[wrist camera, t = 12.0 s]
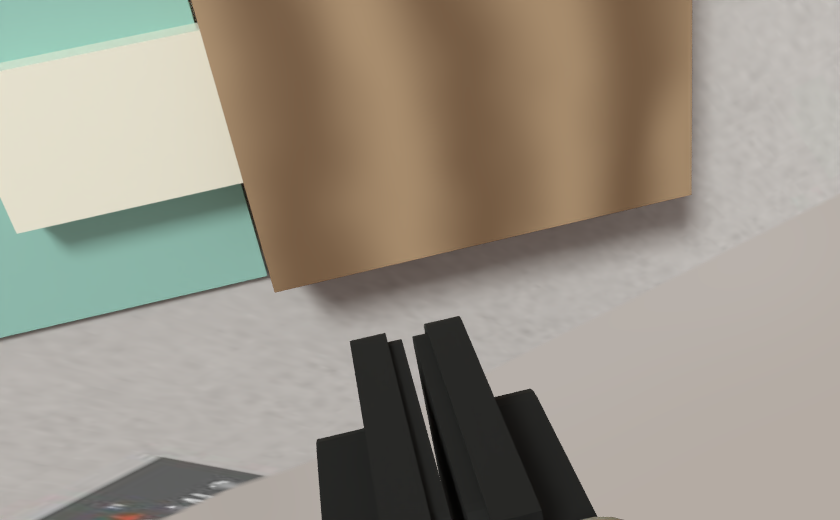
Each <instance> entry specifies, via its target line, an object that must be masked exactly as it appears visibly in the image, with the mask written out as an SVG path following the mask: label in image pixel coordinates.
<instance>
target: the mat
mask: <svg viewBox="0 0 840 520" xmlns="http://www.w3.org/2000/svg"><path fill="white" fill-rule="evenodd" d="M193 23H195V20H194V17H193V13H192V10H191V7H190V3H189V0H0V63H2V62H7V61H12V60H17V59H21V58H26V57H31V56H36V55H41V54H46V53H51V52H56V51H61V50H66V49H70V48H75V47H80V46H85V45H90V44H95V43H100V42H105V41H110V40H114V39H119V38H124V37H129V36H134V35H139V34H144V33H149V32H154V31H159V30H163V29H168V28H173V27H178V26H183V25H188V24H193ZM264 276H267V271H266V267H265V264H264V260H263V257H262V253H261V250H260V246H259V243H258V240H257V236H256V233H255V229H254V226H253V222H252V219H251V215H250V212H249V208H248V205H247V201H246V198H245V194H244V191H243V187H242V184H241V183H240V184H235V185H231V186H227V187H222V188H218V189H213V190H209V191H204V192H200V193H196V194H191V195H187V196H182V197H178V198H173V199H169V200H165V201H160V202H156V203H151V204H147V205H142V206H138V207H133V208H129V209H125V210H120V211H116V212H111V213H107V214H102V215H98V216H94V217H89V218H85V219H80V220H76V221H71V222H67V223H63V224H58V225H54V226H49V227H45V228H40V229H36V230H32V231H27V232H23V233H18V234H17V233H16V231H15V229H14V227H13V224H12V222H11V220H10V218H9V216H8V213H7V211H6V209H5V207H4V205H3V203H2V200H1V198H0V338H2V337H6V336H10V335H15V334H19V333H23V332H27V331H32V330H36V329H40V328H45V327H49V326H53V325H58V324H62V323H66V322H70V321H75V320H79V319H83V318H88V317H92V316H96V315H101V314H105V313H109V312H114V311H118V310H122V309H126V308H131V307H135V306H139V305H144V304H148V303H152V302H157V301H161V300H165V299H170V298H174V297H178V296H182V295H187V294H191V293H195V292H200V291H204V290H208V289H213V288H217V287H221V286H226V285H230V284H234V283H238V282H243V281H247V280H251V279H256V278H260V277H264Z"/></svg>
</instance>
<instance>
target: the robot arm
mask: <svg viewBox="0 0 840 520" xmlns="http://www.w3.org/2000/svg"><path fill="white" fill-rule="evenodd" d="M424 329H425V334H422V335H417V336H413V343H414V349H415V354H416V359H417V364H418V369H419V374H420V379H421V384H422V389H423V395H424V400H425V405H426V410H427V415H428V420H429V425H430V430H431V435H432V441H433V445H434V451H435V455H436V461H437V466H438V470H437V466H436V463H435V459H434V455H433V452H432V448H431V444H430V441H429V438H428V434H427V430H426V426H425V423H424V419H423V415H422V412H421V408H420V405H419V401H418V397H417V394H416V390H415V386H414V383H413V379H412V376H411V372H410V368H409V365H408V361H407V357H406V354H405V350H404V347H403V343H402V340H401V339H400V340H396V341H391V342H387V338H386V334H385V333H383V334H379V335H374V336H370V337H366V338H361V339H357V340H352V341H350V345H351V351H352V357H353V363H354V369H355V376H356V382H357V388H358V394H359V400H360V406H361V412H362V418H363V424H364V428H363V429H359V430H355V431H351V432H346V433H342V434H338V435H334V436H330V437H325V438H321V439H317V442H316V445H317V461H318V474H319V487H320V501H321V513H322V520H622V519H618V518H614V517H597V515H596V513H595V511H594V509H593V507H592V505H591V503H590V501H589V499H588V497H587V495H586V493H585V491H584V489H583V487H582V485H581V484H580V482H579V479H578V477H577V475H576V473H575V472H574V469H573V467H572V466H571V463H570V462H569V460H568V457H567V455H566V454H565V452H564V450H563V448H562V446H561V444H560V442H559V440H558V438H557V436H556V434H555V432H554V430H553V428H552V426H551V424H550V422H549V420H548V418H547V416H546V414H545V412H544V410H543V408H542V406H541V404H540V402H539V400H538V398H537V396H536V395H535V393H534V391H533V390H531V389H527V390H523V391H519V392H514V393H510V394H506V395H502V396H498V397H494V396H493V393H492V391H491V388H490V386H489V384H488V381H487V379H486V377H485V374H484V372H483V369H482V367H481V365H480V362H479V360H478V358H477V355H476V353H475V350H474V348H473V346H472V343H471V341H470V339H469V336H468V334H467V332H466V329H465V327H464V324H463V322H462V320H461V318H460V317H459V316H457V317H453V318H448V319H444V320H440V321H435V322H431V323H427V324H424ZM438 471H439V473H438ZM439 476H440V477H439ZM440 480H441V481H440Z"/></svg>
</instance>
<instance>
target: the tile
mask: <svg viewBox="0 0 840 520" xmlns="http://www.w3.org/2000/svg"><path fill="white" fill-rule="evenodd" d="M240 183H243V180H242V176H241V173H240V169H239V166H238V162H237V159H236V155H235V152H234V148H233V145H232V141H231V138H230V134H229V131H228V127H227V124H226V120H225V117H224V113H223V110H222V106H221V103H220V99H219V96H218V92H217V89H216V85H215V82H214V78H213V75H212V71H211V68H210V64H209V61H208V57H207V54H206V50H205V47H204V43H203V40H202V36H201V33H200V29H199V26H198V23H193V24H188V25H183V26H178V27H173V28H168V29H163V30H159V31H154V32H149V33H144V34H139V35H134V36H129V37H124V38H119V39H114V40H110V41H105V42H100V43H95V44H90V45H85V46H80V47H75V48H70V49H66V50H61V51H56V52H51V53H46V54H41V55H36V56H31V57H26V58H21V59H17V60H12V61H7V62H2V63H0V198H1V200H2V203H3V205H4V207H5V209H6V211H7V213H8V216H9V218H10V220H11V222H12V224H13V227H14V229H15V231H16V233H17V234H18V233H23V232H27V231H32V230H36V229H40V228H45V227H49V226H54V225H58V224H63V223H67V222H71V221H76V220H80V219H85V218H89V217H94V216H98V215H102V214H107V213H111V212H116V211H120V210H125V209H129V208H133V207H138V206H142V205H147V204H151V203H156V202H160V201H165V200H169V199H173V198H178V197H182V196H187V195H191V194H196V193H200V192H204V191H209V190H213V189H218V188H222V187H227V186H231V185H235V184H240Z"/></svg>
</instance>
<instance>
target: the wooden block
mask: <svg viewBox="0 0 840 520" xmlns="http://www.w3.org/2000/svg"><path fill="white" fill-rule="evenodd" d="M191 1H192V5H193V8H194V12H195V15H196V19H197V22H198V26H199V29H200V33H201V36H202V40H203V43H204V47H205V50H206V54H207V57H208V61H209V64H210V68H211V71H212V75H213V78H214V82H215V85H216V89H217V92H218V96H219V99H220V103H221V106H222V110H223V113H224V117H225V120H226V124H227V127H228V131H229V134H230V138H231V141H232V145H233V148H234V152H235V155H236V159H237V162H238V166H239V169H240V173H241V176H242V180H243V183H244V187H245V190H246V194H247V197H248V201H249V204H250V208H251V211H252V215H253V218H254V222H255V225H256V229H257V232H258V236H259V239H260V243H261V246H262V250H263V253H264V257H265V260H266V264H267V267H268V271H269V274H270V278H271V281H272V285H273V288H274V292H279V291H284V290H288V289H292V288H296V287H301V286H305V285H309V284H313V283H318V282H322V281H326V280H330V279H335V278H339V277H343V276H347V275H352V274H356V273H360V272H365V271H369V270H373V269H377V268H382V267H386V266H390V265H394V264H399V263H403V262H407V261H411V260H416V259H420V258H424V257H428V256H433V255H437V254H441V253H445V252H450V251H454V250H458V249H463V248H467V247H471V246H475V245H480V244H484V243H488V242H492V241H497V240H501V239H505V238H509V237H514V236H518V235H522V234H526V233H531V232H535V231H539V230H543V229H548V228H552V227H556V226H561V225H565V224H569V223H573V222H578V221H582V220H586V219H590V218H595V217H599V216H603V215H607V214H612V213H616V212H620V211H624V210H629V209H633V208H637V207H642V206H646V205H650V204H654V203H659V202H663V201H667V200H671V199H676V198H680V197H684V196H688V195H691V158H692V0H191Z"/></svg>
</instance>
